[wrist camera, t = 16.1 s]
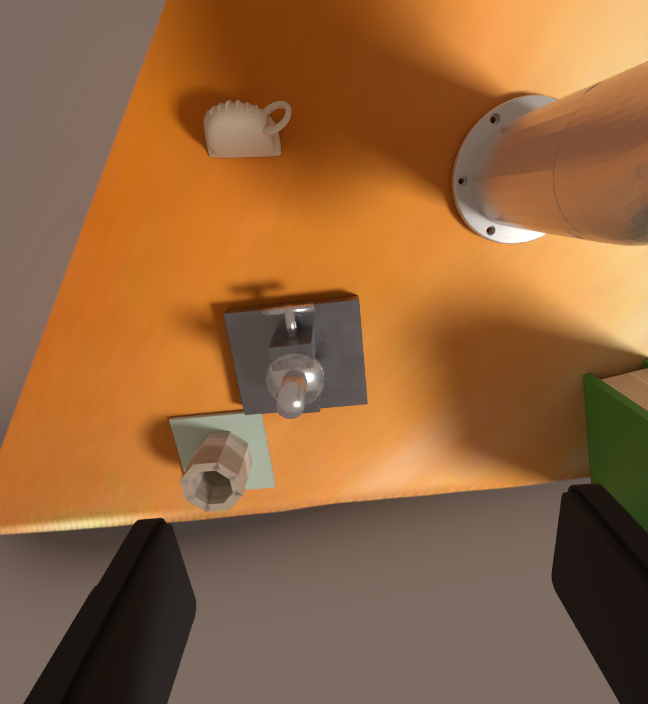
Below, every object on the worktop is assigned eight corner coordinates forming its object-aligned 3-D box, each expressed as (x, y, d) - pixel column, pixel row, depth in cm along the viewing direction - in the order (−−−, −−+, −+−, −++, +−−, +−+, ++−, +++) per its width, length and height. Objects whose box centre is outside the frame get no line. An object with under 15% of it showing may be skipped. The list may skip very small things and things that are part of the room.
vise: (357, 289, 42) (367, 323, 31) (365, 395, 47) (377, 458, 35) (226, 303, 43) (190, 341, 32) (247, 406, 47) (222, 471, 36)
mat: (261, 409, 47) (260, 411, 47) (275, 484, 51) (274, 487, 51) (170, 417, 48) (168, 420, 47) (191, 491, 52) (190, 494, 51)
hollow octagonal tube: (245, 429, 48) (235, 460, 42) (255, 474, 50) (245, 508, 44) (193, 434, 48) (175, 466, 42) (204, 478, 50) (189, 513, 45)
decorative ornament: (204, 107, 36) (184, 93, 31) (296, 107, 36) (290, 93, 31) (208, 157, 38) (190, 150, 33) (297, 157, 38) (292, 151, 33)
